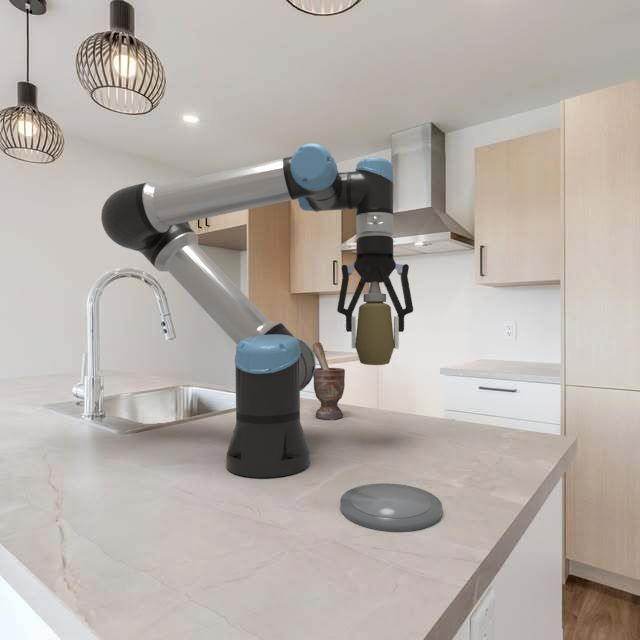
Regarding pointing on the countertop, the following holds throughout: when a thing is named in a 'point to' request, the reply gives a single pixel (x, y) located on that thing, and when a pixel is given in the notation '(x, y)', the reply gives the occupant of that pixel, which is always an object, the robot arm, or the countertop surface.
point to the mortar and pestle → (328, 386)
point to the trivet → (391, 507)
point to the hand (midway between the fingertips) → (374, 348)
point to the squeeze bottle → (374, 328)
